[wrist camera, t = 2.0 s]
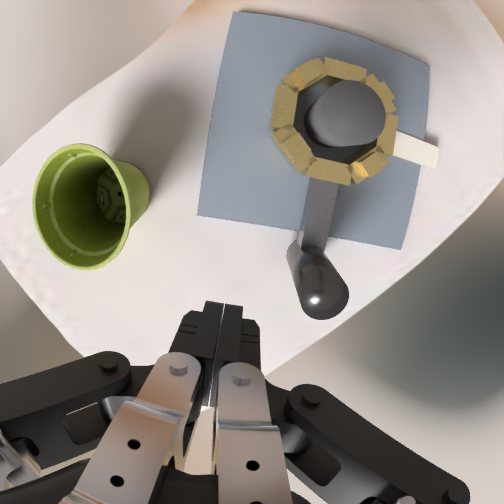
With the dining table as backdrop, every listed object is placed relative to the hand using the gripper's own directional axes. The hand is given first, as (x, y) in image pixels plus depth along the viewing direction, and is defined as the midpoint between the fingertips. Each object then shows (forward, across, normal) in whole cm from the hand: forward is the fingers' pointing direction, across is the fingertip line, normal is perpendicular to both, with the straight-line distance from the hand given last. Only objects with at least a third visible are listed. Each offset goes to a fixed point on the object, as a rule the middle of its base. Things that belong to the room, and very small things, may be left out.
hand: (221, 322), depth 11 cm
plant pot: (+16, +12, -2) cm, 20 cm away
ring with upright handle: (+14, -6, -7) cm, 17 cm away
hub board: (+16, -7, -11) cm, 20 cm away
